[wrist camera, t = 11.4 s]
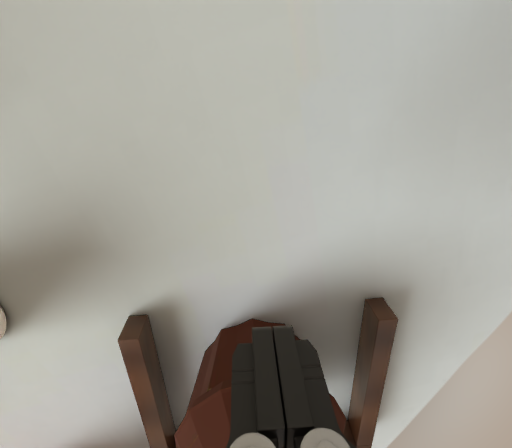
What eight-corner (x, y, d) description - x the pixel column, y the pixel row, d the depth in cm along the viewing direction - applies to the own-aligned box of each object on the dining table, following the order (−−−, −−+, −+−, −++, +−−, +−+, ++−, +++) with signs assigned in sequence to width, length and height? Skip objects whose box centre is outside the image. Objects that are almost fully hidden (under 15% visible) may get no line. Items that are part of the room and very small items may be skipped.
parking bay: (128, 315, 23) (117, 340, 21) (383, 297, 24) (398, 318, 22) (164, 445, 30) (158, 474, 28) (360, 427, 31) (370, 454, 29)
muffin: (268, 282, 23) (291, 410, 14) (344, 357, 27) (401, 495, 18) (160, 359, 25) (119, 510, 16) (244, 418, 29) (249, 565, 20)
